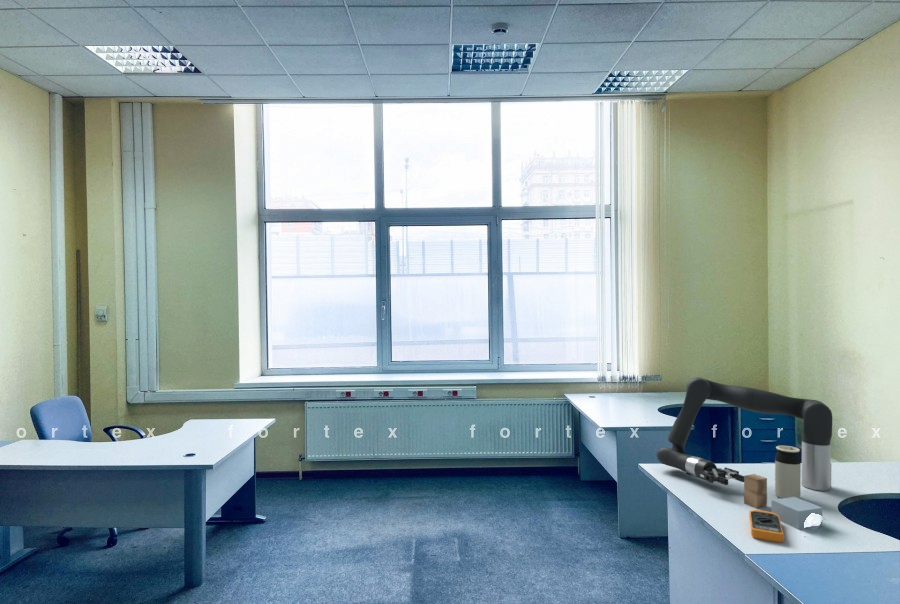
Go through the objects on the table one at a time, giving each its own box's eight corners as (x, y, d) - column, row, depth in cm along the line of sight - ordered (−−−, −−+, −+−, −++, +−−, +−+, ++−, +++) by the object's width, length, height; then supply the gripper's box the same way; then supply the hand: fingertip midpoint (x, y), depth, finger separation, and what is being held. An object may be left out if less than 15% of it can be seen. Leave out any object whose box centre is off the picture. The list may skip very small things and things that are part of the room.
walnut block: (754, 501, 195) (754, 473, 195) (766, 506, 191) (766, 478, 191) (744, 503, 194) (744, 475, 193) (756, 508, 189) (756, 480, 189)
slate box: (794, 514, 185) (794, 496, 184) (822, 526, 175) (822, 507, 175) (771, 517, 182) (771, 499, 182) (798, 530, 172) (798, 511, 172)
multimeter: (778, 522, 178) (778, 512, 178) (784, 545, 162) (784, 533, 162) (748, 518, 182) (749, 507, 182) (751, 539, 166) (751, 528, 166)
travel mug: (787, 501, 195) (787, 451, 195) (769, 493, 203) (770, 445, 203) (805, 499, 197) (806, 450, 197) (787, 492, 205) (788, 444, 204)
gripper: (687, 460, 212) (722, 473, 197) (714, 456, 217) (750, 468, 202) (687, 479, 212) (721, 493, 197) (714, 475, 217) (750, 488, 202)
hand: (736, 481), depth 199 cm, fingers open, 8 cm apart
